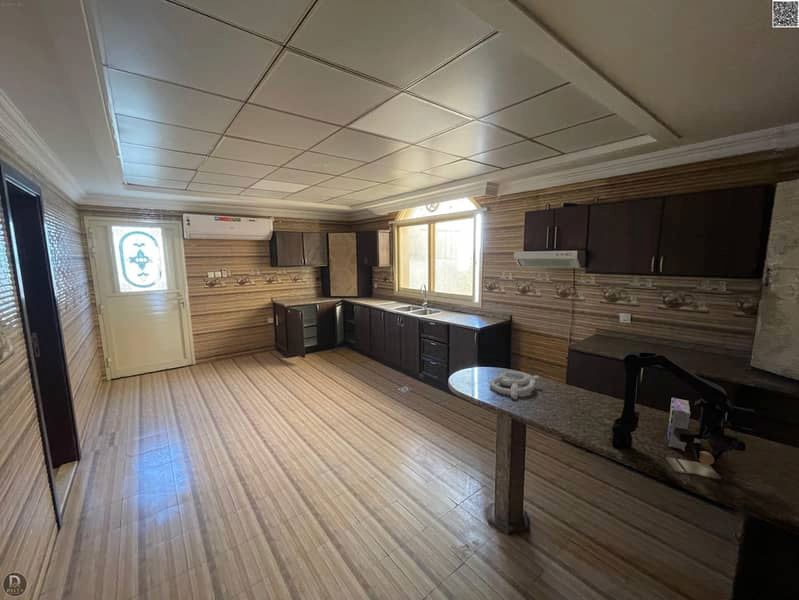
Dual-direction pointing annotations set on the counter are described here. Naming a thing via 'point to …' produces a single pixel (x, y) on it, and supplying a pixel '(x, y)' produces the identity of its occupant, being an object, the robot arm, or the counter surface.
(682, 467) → the board
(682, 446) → the candy box
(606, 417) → the counter surface
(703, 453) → the ball
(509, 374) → the pretzel
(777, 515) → the counter surface
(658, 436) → the counter surface
